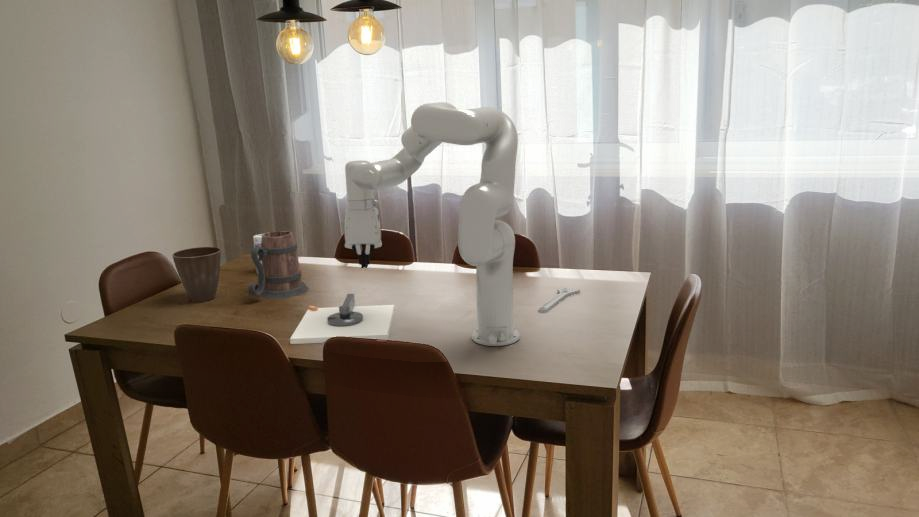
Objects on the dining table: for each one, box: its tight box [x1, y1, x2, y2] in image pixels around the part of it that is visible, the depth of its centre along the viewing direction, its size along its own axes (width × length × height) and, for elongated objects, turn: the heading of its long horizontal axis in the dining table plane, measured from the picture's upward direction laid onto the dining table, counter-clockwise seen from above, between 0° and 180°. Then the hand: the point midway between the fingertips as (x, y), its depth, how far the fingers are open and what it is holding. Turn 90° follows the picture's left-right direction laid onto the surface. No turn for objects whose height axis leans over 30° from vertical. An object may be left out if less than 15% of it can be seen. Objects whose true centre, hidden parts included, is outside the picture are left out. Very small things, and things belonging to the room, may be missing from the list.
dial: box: [327, 292, 363, 326], centre depth 204 cm, size 19×10×4 cm, turn 1°
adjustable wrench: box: [537, 286, 581, 314], centre depth 216 cm, size 25×6×2 cm, turn 145°
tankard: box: [247, 230, 310, 300], centre depth 232 cm, size 24×17×20 cm
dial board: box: [289, 304, 396, 345], centre depth 203 cm, size 30×26×2 cm
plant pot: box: [171, 246, 222, 303], centre depth 230 cm, size 15×15×16 cm
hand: (364, 266), depth 204 cm, fingers closed
